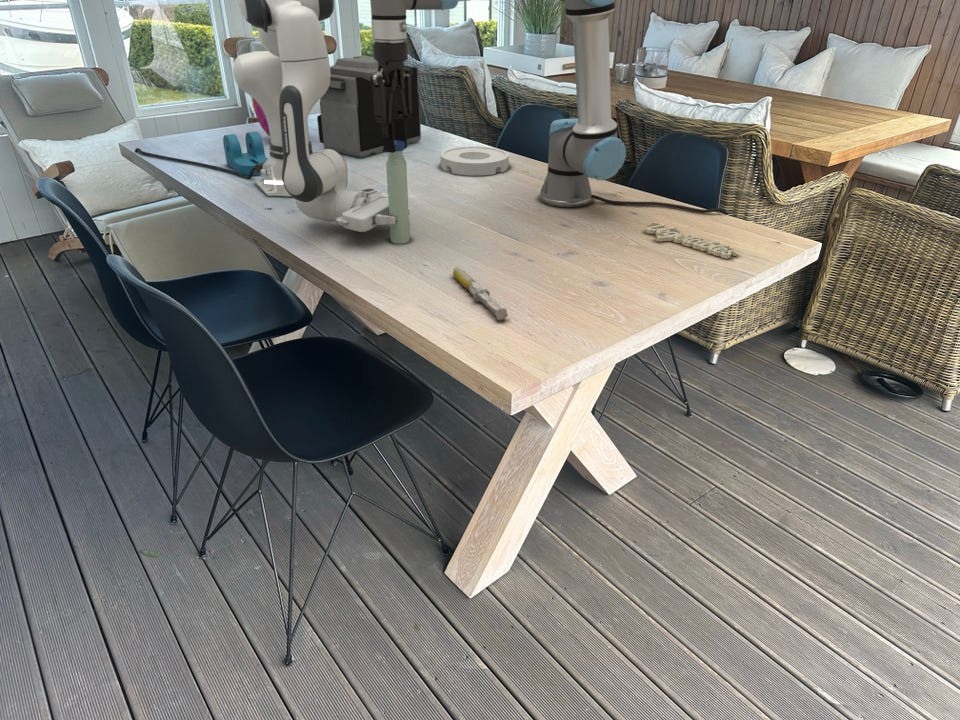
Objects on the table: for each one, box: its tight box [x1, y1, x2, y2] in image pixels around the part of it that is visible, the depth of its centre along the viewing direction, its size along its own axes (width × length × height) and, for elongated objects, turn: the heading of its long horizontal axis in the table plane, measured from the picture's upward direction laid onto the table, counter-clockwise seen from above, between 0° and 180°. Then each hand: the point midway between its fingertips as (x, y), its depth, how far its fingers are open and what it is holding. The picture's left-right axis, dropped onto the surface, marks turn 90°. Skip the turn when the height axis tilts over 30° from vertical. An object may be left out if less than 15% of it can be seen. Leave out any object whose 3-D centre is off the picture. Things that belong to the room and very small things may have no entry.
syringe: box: [452, 266, 509, 321], centre depth 145 cm, size 25×4×3 cm, turn 21°
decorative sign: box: [645, 221, 738, 259], centre depth 174 cm, size 26×1×10 cm
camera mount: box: [222, 131, 269, 176], centre depth 226 cm, size 18×10×10 cm, turn 35°
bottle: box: [385, 150, 411, 245], centre depth 167 cm, size 5×5×24 cm
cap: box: [394, 140, 406, 151], centre depth 161 cm, size 5×5×2 cm
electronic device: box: [316, 55, 422, 159], centre depth 250 cm, size 37×22×30 cm, turn 144°
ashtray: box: [440, 145, 510, 177], centre depth 233 cm, size 23×23×4 cm
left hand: (402, 216), depth 170 cm, fingers closed on bottle, 5 cm apart
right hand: (395, 149), depth 162 cm, fingers closed on cap, 4 cm apart
